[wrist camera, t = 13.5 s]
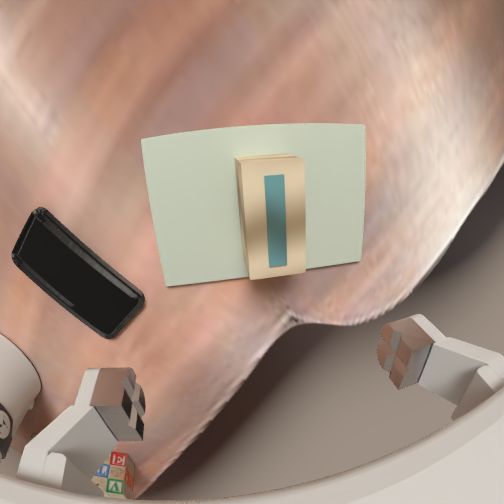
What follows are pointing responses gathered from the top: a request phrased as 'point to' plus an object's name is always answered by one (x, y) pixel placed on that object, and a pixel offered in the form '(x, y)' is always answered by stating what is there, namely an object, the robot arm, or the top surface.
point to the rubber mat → (226, 198)
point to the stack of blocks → (114, 476)
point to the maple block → (272, 214)
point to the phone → (75, 275)
